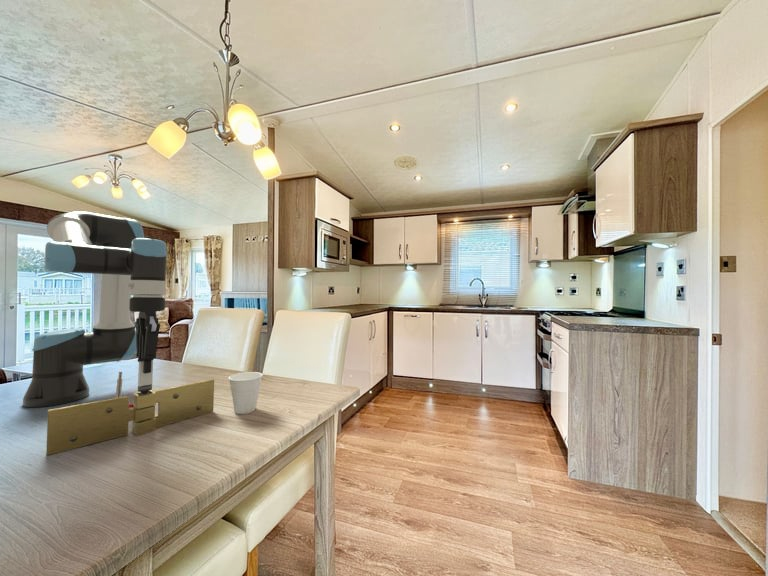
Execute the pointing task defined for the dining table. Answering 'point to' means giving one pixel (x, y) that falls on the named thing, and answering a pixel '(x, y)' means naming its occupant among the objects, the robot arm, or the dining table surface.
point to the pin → (144, 390)
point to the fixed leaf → (174, 404)
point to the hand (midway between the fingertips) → (145, 384)
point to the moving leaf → (91, 423)
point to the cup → (245, 391)
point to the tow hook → (120, 387)
